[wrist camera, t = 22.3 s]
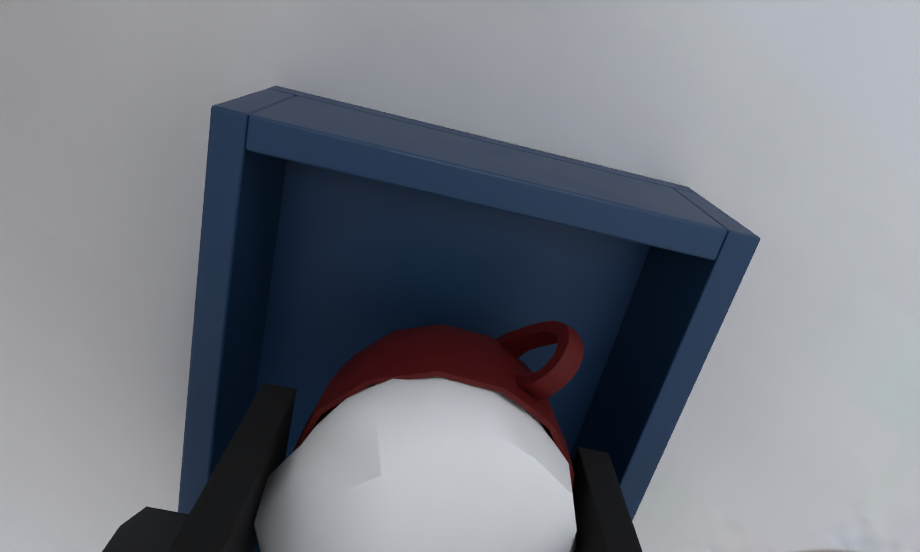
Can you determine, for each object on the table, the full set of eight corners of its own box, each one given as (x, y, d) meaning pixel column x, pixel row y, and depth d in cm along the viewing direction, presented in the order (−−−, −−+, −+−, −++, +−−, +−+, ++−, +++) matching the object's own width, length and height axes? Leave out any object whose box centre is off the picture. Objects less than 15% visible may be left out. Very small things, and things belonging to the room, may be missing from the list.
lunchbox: (275, 84, 17) (210, 104, 13) (689, 187, 18) (761, 238, 14) (230, 459, 22) (172, 567, 18) (557, 522, 23) (579, 638, 19)
